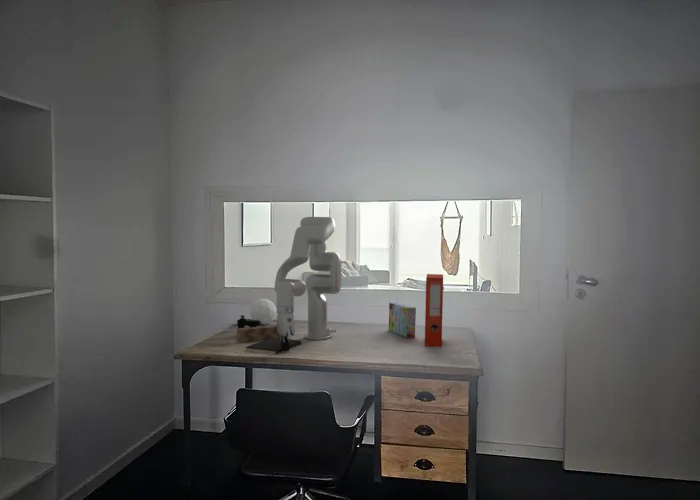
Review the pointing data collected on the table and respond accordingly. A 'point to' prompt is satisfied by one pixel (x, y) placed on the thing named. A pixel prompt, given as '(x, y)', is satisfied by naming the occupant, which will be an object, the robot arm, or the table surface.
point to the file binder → (434, 310)
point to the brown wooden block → (257, 333)
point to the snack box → (402, 319)
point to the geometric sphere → (263, 311)
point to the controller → (247, 322)
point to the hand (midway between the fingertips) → (285, 350)
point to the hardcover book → (271, 346)
